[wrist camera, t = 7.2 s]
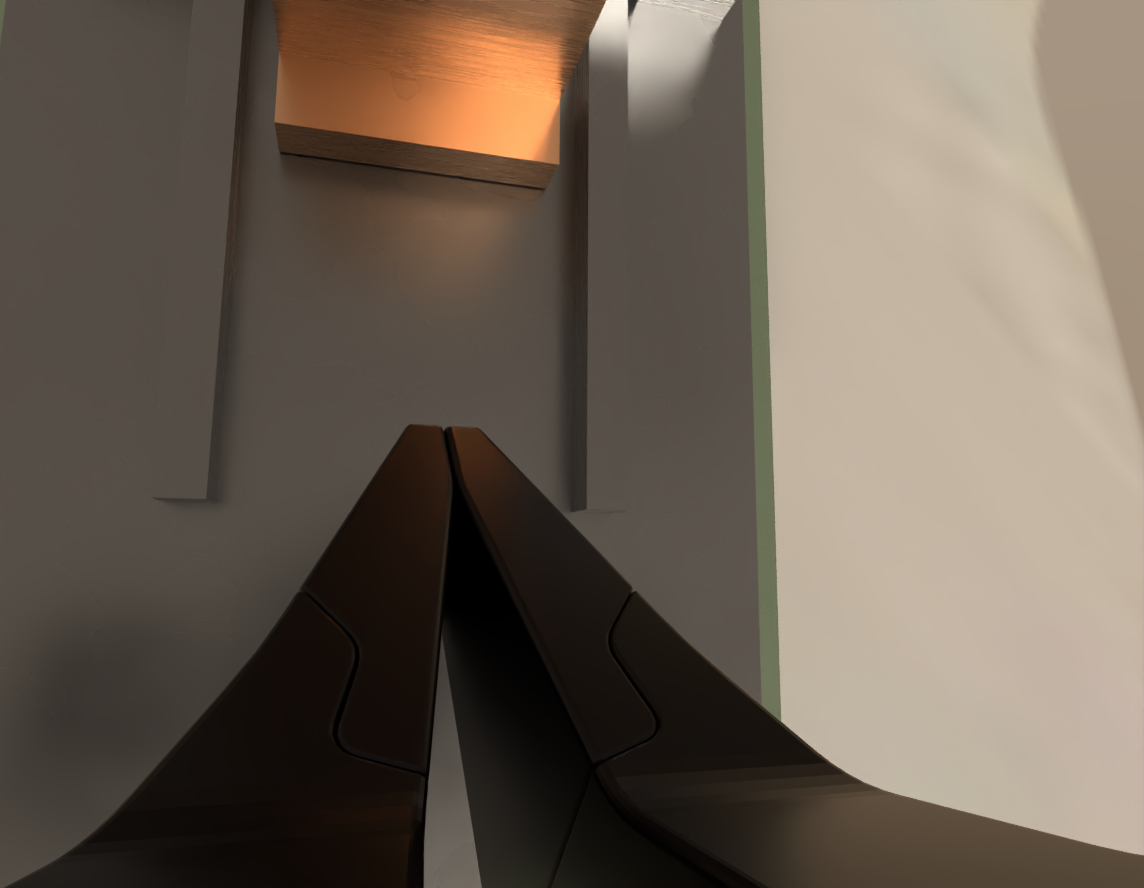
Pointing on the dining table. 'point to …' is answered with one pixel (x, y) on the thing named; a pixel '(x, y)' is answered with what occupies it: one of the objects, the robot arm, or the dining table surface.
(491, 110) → the orange block
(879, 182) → the dining table surface
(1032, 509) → the dining table surface
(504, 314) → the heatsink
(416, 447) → the robot arm
